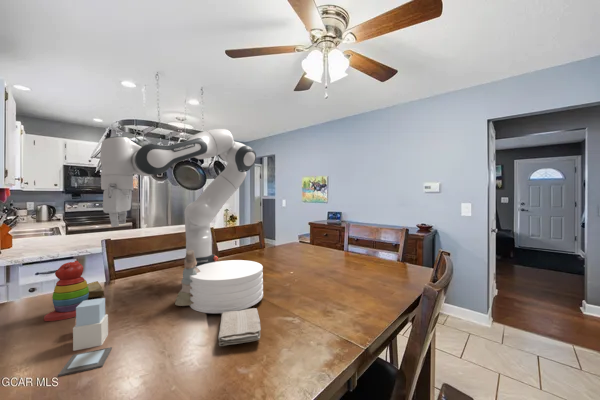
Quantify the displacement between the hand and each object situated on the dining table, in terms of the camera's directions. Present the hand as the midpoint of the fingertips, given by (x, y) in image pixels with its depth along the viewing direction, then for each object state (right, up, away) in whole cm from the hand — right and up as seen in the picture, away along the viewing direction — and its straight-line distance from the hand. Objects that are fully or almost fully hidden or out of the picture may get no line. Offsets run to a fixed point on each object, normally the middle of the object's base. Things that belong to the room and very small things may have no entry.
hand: (118, 225), depth 87 cm
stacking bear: (-18, -31, +1) cm, 36 cm away
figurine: (+20, -30, +8) cm, 37 cm away
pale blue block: (+4, -25, -16) cm, 30 cm away
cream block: (+4, -31, -16) cm, 35 cm away
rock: (-19, -32, +15) cm, 40 cm away
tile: (+10, -31, -25) cm, 41 cm away
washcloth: (+43, -31, -9) cm, 54 cm away
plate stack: (+33, -30, +14) cm, 47 cm away
